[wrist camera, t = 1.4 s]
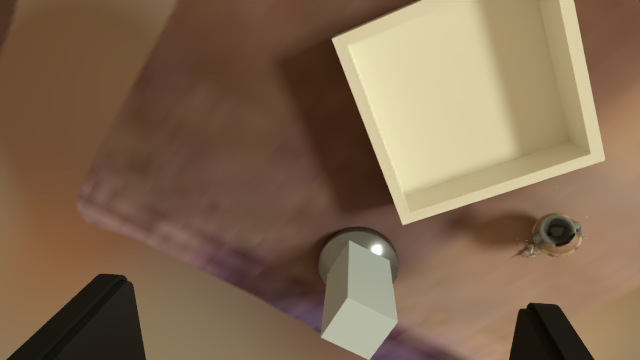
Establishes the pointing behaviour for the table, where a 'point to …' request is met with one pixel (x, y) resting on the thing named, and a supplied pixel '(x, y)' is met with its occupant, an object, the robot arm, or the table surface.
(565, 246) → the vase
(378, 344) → the strut
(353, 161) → the table surface
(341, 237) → the grey round domed disc
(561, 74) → the dish
